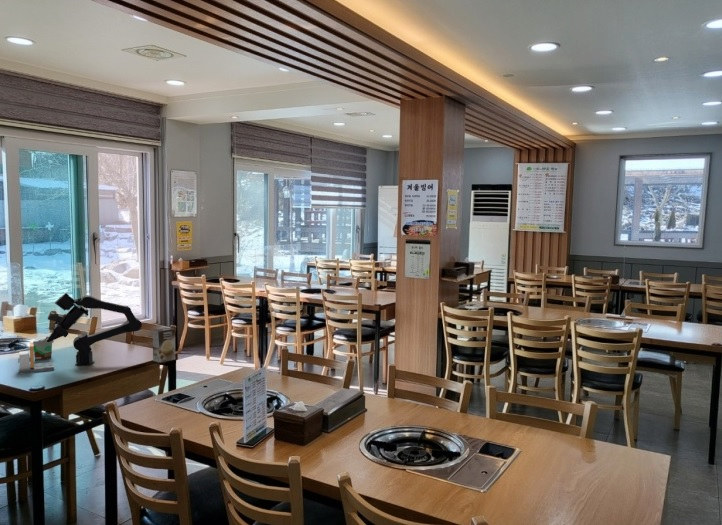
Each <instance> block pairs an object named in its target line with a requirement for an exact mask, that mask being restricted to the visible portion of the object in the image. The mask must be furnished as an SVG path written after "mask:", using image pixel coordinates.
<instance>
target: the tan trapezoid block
mask: <svg viewBox="0 0 722 525" xmlns="http://www.w3.org/2000/svg"><path fill="white" fill-rule="evenodd" d="M29 358H30V367H31V368H33V367H34V364H35V357H34V345H33V342H30V343H29ZM17 361H18V364H20V362H19V358H18V359H17Z"/></svg>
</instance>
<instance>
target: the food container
mask: <svg viewBox="0 0 722 525" xmlns="http://www.w3.org/2000/svg"><path fill="white" fill-rule="evenodd" d="M48 338H49V336H46V337H45V338H43V339H39V340H38V341H37V340H34V341H32V343H33V345H34V362H35V361H36V362H37V361H45V360H46V361H47V360H49V359H51V358H52V353H53V352H52V351H53V343H54V341H55V340H53V341H51V342H47V339H48Z"/></svg>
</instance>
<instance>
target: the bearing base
mask: <svg viewBox="0 0 722 525" xmlns="http://www.w3.org/2000/svg"><path fill="white" fill-rule="evenodd" d="M18 354H19V355H18V356H19V357H18V359H19V362H20V363H19V366H18V368H19V369H18V373H25V374H32V373H31V372H34V373H40V372H49V371H54V370H55V366H54V362H53V361H49V362H48V361H46V362H40V363H39V362H38V363H37V362H36V363H34V367H33V368H31V367H30V358H29V357H30V350H23V351H19V353H18Z"/></svg>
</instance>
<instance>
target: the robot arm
mask: <svg viewBox="0 0 722 525" xmlns="http://www.w3.org/2000/svg"><path fill="white" fill-rule="evenodd" d="M54 304H55V305H57V307H59V308H60V309H62V310H63V311H67V312H66V313H65V314H59V313H56V312H52V311H49V314H48V316H47V320H49V321H52V322H53V324H54V325H52V332H51V333H50V335H49V336H48V337H49V338H48V339H47V342H51V341H55V340H57V339H60V338H62V337H64V338H66V337H68V335H69V330H70V329H71V328H72V326H73V325H76V324H77V323H76V322H78V321H79V319H80V318H81V317H83V315H86V316H87V317H88V316H89V310H90V309H92V310H93V309H94V310H95V309H100V310H104V311H109V312H114V313H117V314H123V315H124V316H125V318H126V319H127V320H126V321H125V322H123V323H122V324H119V325H117V326H114V327H111V328H108V329H105V330H102V331H99V332H96V333H93V334H88V333H87V332H83V333H82V334H78V335H77V337H74V339H73V342H72V344H73V348H74V349H75V350H76V351H77V352H76V355H75V364H74V365H75V366H90V365H92V364H94V363H95V361H94V360H93V357H94V356H93V350H92V349H93V348H92V347H91V346H92V345H93V344H95V343H98V342H101V341H103V340H104V341H105V340H107V339H109V338H112V337H115V336H118V335H120V334H124V333H133V332H137V331H139V330H141V329H142V327H143V324H142V321H141V320H140V319H139V318H136V316H135V314H134V312H133V311H132V309H131V307H130V306H128V305H123V304H117V303H112V302H108V301H104V300H101V299H99V298H96V297H94V296H92V295H88V294H87V295H83V296H82V297H81V298H75V299H74V298H73V297H71V296H70V295H69V294H68V293H67V292H65V293H64V294H63V295H61V296H59V298H58V299H56V301H55V302H54Z"/></svg>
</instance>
